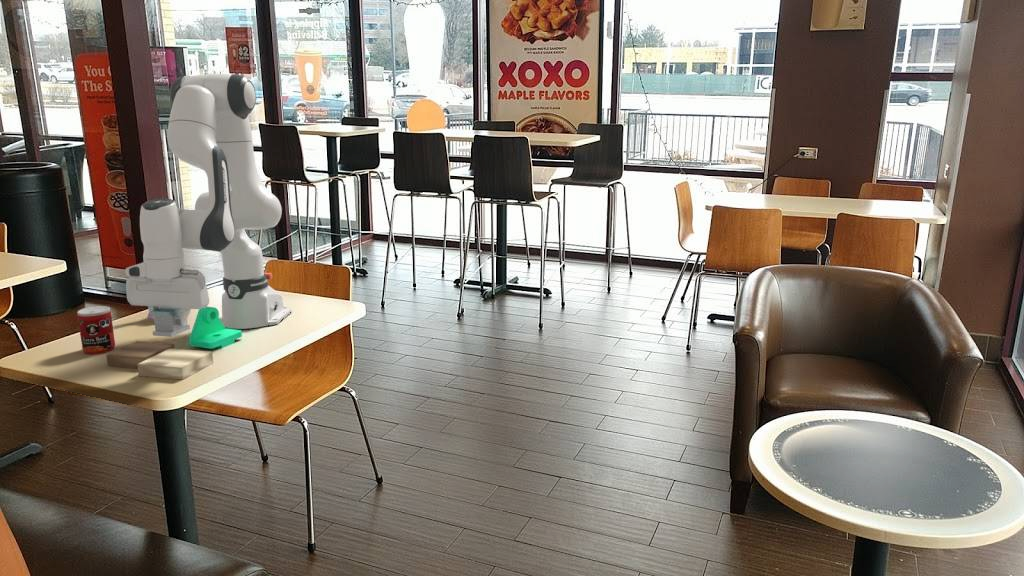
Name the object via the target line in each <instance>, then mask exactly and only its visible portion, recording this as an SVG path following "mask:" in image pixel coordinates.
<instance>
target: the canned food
mask: <svg viewBox="0 0 1024 576" xmlns="http://www.w3.org/2000/svg"><path fill="white" fill-rule="evenodd" d="M76 315H77V321H78V327H79V328H78V330H79V335H80V341H81V343H80V344H81V348H82V352H83V353H84V354H86V355H99V354H106V353H110V351H111V352H112V351H114V349H115V347H116V342H115V341H116V340H115V334H114V333H115V332H114V325H113V318H112V317H113V316H112V311H111V307H110V306H106V305H105V306H104V305H97V306H94V305H93V306H88V307H84V308H81V309H78V310H77V313H76Z"/></svg>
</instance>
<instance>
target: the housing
mask: <svg viewBox="0 0 1024 576" xmlns="http://www.w3.org/2000/svg"><path fill="white" fill-rule="evenodd" d="M150 313H151V315H154V317H153V322H154V330H153V331H152V337H153V336H154V337H157V336H158V337H168V338H169V337H171V338H173V337H174V336H177V335H180V334H182V333H184V332H186V331H188V330H190V329H191V328H190V324H187V325H185V326H178V322H177V319H178V318H181V315H182V312H180V308H169V307H160V308H158V309H155V310H152V311H150Z"/></svg>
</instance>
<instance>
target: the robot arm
mask: <svg viewBox="0 0 1024 576" xmlns="http://www.w3.org/2000/svg"><path fill="white" fill-rule="evenodd" d="M169 101H170V104H171V110H170V114H169V118H168V127H167V134H166V135H167V137H166V138H167V139H166V140H167V146H168V147H169V150H170V151H171V153H172V154H173V155H174V156H175V157H176V158H178V159H179V160H180V161H183V162H184V163H186V164H188V165H190V166H193V167H196V168H198V169H200V170H202V171H204V172H205V174H206V176H207V185H208V191H206V192H203V193H201V194H199V196H198V197H197V199H196V201H195V205H194V209H186V208H185V209H183V208H181V207H178V206H177V203H176V201H175V200H174V199H172V198H166V197H165V198H162V197H161V198H154V199H150V200H147V201H145V202H144V203H142V205H141V206H140V210H139V212H140V214H139V230H140V240H141V242H142V244H143V254H142V255H143V256H142V258H143V259H142V260H143V261H142V262H139V263H137V264H134V265H131V266H128V267H126V268H125V276H126V277H127V279H126V282H125V284H126V285H125V288H126V289H125V290H126V292H125V293H126V299H127V302H128V303H129V304H130V305H131V306H136V307H137V306H140V307H147V309H148V310H147V311H148V313H149V312H150V311H152V310H155V309H158V308H159V307H169V308H180V312H182V315H181V318H178V319H177V322H178V326H185V325H188V317H189V315H190V313H191V310H199V309H202V308H204V307H208V305H209V303H210V296H209V291H208V287H207V284H206V277H205V276H206V275H204V274H203V273H202V272H201V271H200V270H198V269H186V263H185V252H184V251H183V249H184V250H205V251H215V252H220V255H221V261H222V268H223V277H222V286H223V290H224V292H223V293H222V296H221V316H219V319H220V320H221V322H222V323H223V325H224V326H225V328H227V329H234V330H243V329H244V330H247V329H253V328H254V329H256V328H262V327H267V326H268V325H269V326H275V324H276V325H278V324H280V323H281V322H282V321H283V320H284V319H285V318H287V317H288V316H289V315H290V314H291V313H292V312H293V311H292V308H291V307H285V306H284V301H283V296H282V294H281V293H280V292H279V291H277V290H276V289H274V288H273V287H271V286H270V284H269V281H271V280H272V279H273V274H272V272H269V273H268V272H265V269H264V258H263V257H264V256H263V251H262V248H261V246H260V245H259V244H258V243H256V242H254V241H253V240H252V239H251V238H250V237H249V236H248V235H247V232H246V230H251V231H261V230H265V229H266V230H267V229H271V228H274V227H276V226H277V225H278V223H279V222H280V220H281V218H282V215H283V214H282V211H283V208H282V205H281V202H280V200H279V198H278V196H276V195H275V194H274V193H272V192H270V190H269V189H268V188H267V187H266V186H265V184H264V183H263V181H262V178H261V177H260V175H259V172H258V170H257V169H258V168H257V166H256V158H255V151H254V143H253V134H252V133H253V132H252V127H251V123H250V117H249V115H250V114H251V113H252V111H253V110H254V108H255V106H256V102H257V92H256V89H255V86H254V84H253V82H252V81H251V80H250V79H249V78H248V77H247V76H245V75H241V74H225V73H209V74H196V75H188V74H187V75H183V76H178V77H177V78H175V79H174V80H173V82H172V83H171V84H170V87H169ZM291 311H292V312H291ZM290 312H291V313H290ZM289 313H290V314H289ZM288 314H289V315H288ZM287 315H288V316H287ZM152 316H153V317H152V318H154V315H152ZM284 317H285V318H284ZM283 318H284V319H283ZM282 319H283V320H282ZM281 320H282V321H281ZM280 321H281V322H280Z"/></svg>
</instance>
